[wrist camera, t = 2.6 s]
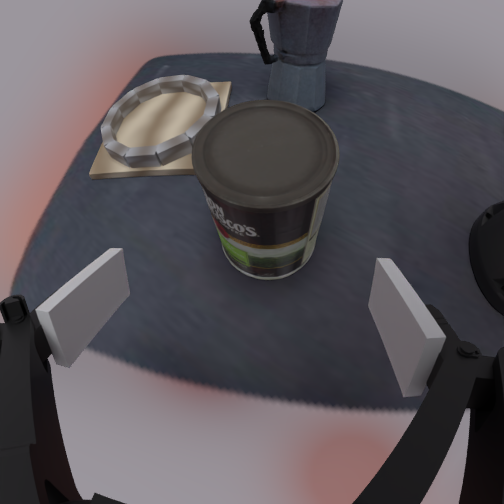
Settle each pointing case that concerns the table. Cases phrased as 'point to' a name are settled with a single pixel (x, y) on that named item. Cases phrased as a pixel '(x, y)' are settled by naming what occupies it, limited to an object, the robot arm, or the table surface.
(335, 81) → the table surface
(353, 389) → the table surface
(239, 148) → the coffee can
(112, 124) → the ring board
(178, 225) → the table surface
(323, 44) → the moka pot
